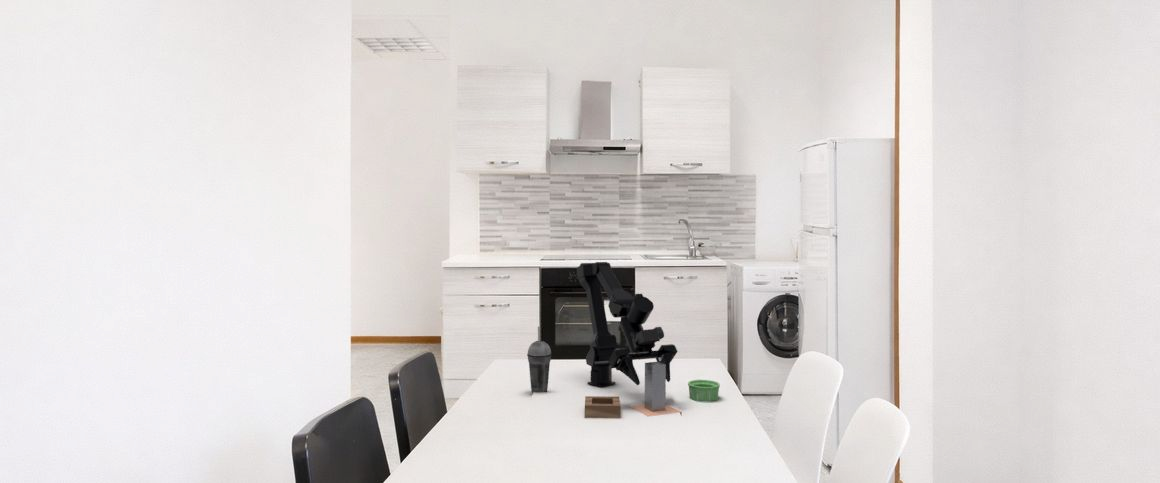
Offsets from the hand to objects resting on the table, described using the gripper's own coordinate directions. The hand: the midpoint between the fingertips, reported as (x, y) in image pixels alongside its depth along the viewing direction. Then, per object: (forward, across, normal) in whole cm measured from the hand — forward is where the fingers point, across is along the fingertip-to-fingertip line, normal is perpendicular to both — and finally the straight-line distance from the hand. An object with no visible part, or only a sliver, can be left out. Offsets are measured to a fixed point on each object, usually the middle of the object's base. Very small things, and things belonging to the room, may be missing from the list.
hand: (654, 382), depth 165 cm
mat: (+6, 0, +5) cm, 8 cm away
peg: (+5, 0, +4) cm, 7 cm away
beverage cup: (-15, -22, +27) cm, 38 cm away
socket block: (+4, -14, +7) cm, 16 cm away
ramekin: (+1, +20, +11) cm, 23 cm away
